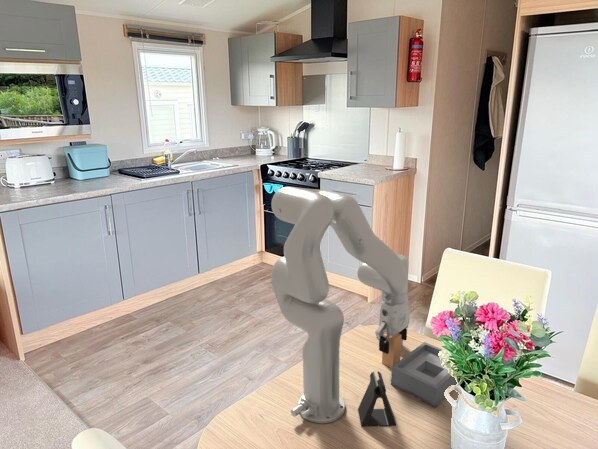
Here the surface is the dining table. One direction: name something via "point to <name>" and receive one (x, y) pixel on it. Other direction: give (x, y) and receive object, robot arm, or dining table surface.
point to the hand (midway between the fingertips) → (393, 345)
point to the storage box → (422, 375)
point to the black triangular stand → (366, 407)
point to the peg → (392, 350)
